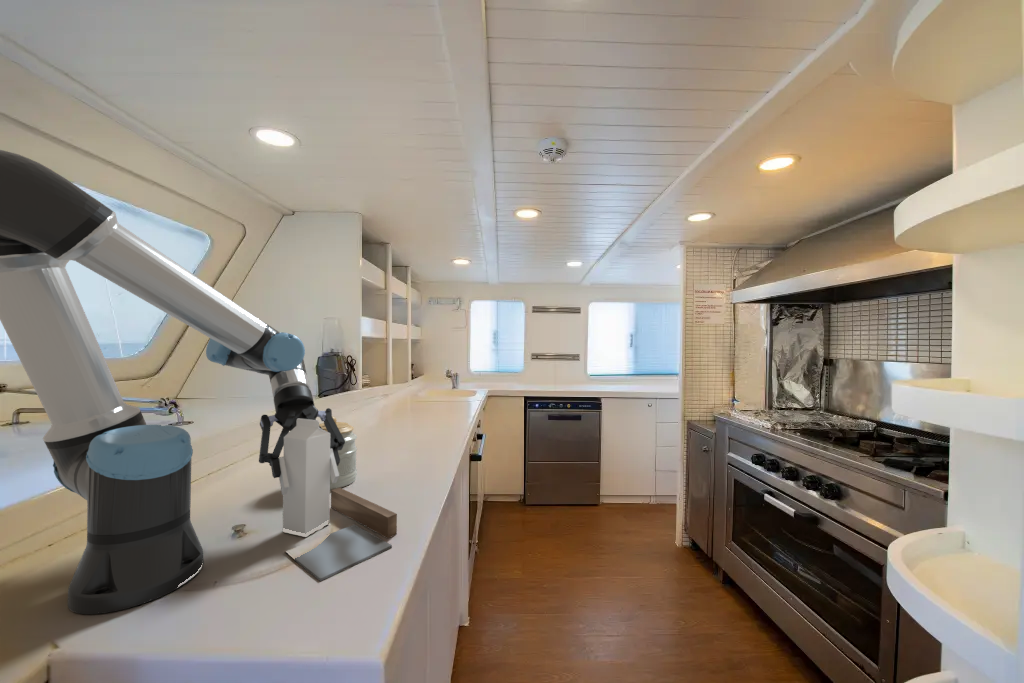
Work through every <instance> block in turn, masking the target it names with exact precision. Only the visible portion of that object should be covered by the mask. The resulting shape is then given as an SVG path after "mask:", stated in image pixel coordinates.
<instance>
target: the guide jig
mask: <svg viewBox="0 0 1024 683" xmlns="http://www.w3.org/2000/svg"><path fill="white" fill-rule="evenodd" d="M330 509H333V510H334V511H336V512H338V513H340V514H342V515H344V516H346V517H347V518H349V519H351V520H353V521H355V522H356V523H358V522H359V523H358V524H360V523H361V524H360V525H362V526H364V525H365V526H364V527H366V528H368V529H369V530H371V529H372V531H373V530H374V531H373V532H375V531H376V532H375V533H377V534H379V535H380V536H383V537H384V536H385V538H386V537H387V538H386V539H389V538H391V536H392V537H394V536H396V535H397V534H398V533H397V531H398V530H397V528H398V518H397V517H398V514H397V513H396V512H394V511H391V510H390V509H387V508H385V507H382V506H381V505H378V504H376V503H375V502H372V501H369V500H367V499H366V498H363V497H361V496H359V495H357V494H356V493H352V492H351V491H348V490H346V489H344V488H343V487H340V488H336V489H330ZM329 534H330V535H329V536H328V537H327V538H326V539H325V540H324V541H323V542H322V543H321V544H319V545H318V546H317V547H316V548H314V549H312V550H311V551H309V552H307V553H305V554H303V555H301V556H300V557H297V558H295V560H294V561H295V562H296V563H297V564H298V565H300V566H301V567H302V568H303V569H305V571H307V572H308V573H310V574H311V575H312V576H314V577H315V578H316V579H317V580H318V581H320V582H323V581H325V580H326V579H329V578H331V577H332V576H335V575H337V574H339V573H341V572H344V571H345V570H347V569H350V568H352V567H354V566H356V565H358V564H360V563H362V562H364V561H366V560H368V558H369V559H370V557H371V558H373V557H374V556H377V555H379V554H381V553H383V552H385V551H387V549H388V550H389V548H390V549H392V548H393V545H392V544H391V543H388V542H386V541H385V540H383V539H381V538H379V537H378V536H376V535H374V534H372V533H370V532H368V531H366V530H365V529H364V528H361V527H359V526H357V525H356V524H352V525H349V526H346V527H344V528H341V529H339V530H336V531H333V532H332V533H331V532H330V533H329ZM372 556H373V557H372Z"/></svg>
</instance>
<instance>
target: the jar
mask: <svg viewBox="0 0 1024 683" xmlns="http://www.w3.org/2000/svg"><path fill="white" fill-rule="evenodd" d="M332 418H333V419H334V421H335V423H336V425H337V427H338V429H339V431H340V433H341V434H342V436H343V438H344V440H345V444H344V446H343V448H342V450H338V454H339V458H340V463H339V465H338V466H337V469H338V472H339V478H338V480H337V482H336V483H333V484H332V480H331V476H330V490H333V489H336V488H343V487H347V486H348V485H352V484H353V483H354V482H355V481H356V477H357V473H358V472H357V470H358V469H357V450H358V448H357V446H356V440H357V438H358V435H357V434H356V433H354V432H353V431H354V429H355V427H354V426H352V425H350V424H349V423H348V422H343V421H337V420H338V419H337V418H336V417H335V416H333V415H332ZM319 425H320V427H321V428H322V429H323V430H325V431H327V429H326V427H325V425H324V422H322V423H319ZM327 432H328V431H327Z"/></svg>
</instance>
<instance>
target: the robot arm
mask: <svg viewBox="0 0 1024 683" xmlns="http://www.w3.org/2000/svg"><path fill="white" fill-rule="evenodd" d="M70 261H74V262H76V263H78V264H79V265H82V266H83V267H85V268H87V269H89V270H90V271H92V272H94V273H95V274H97V275H99V276H101V277H102V278H105V279H106V280H107V281H109V282H112V283H113V284H114V285H117V286H118V287H119V288H122V289H124V290H126V291H127V292H129V293H130V294H133V295H134V296H136V297H138V298H140V299H142V300H143V301H145V302H146V303H147V304H150V305H152V306H153V307H155V308H156V309H158V310H160V311H162V312H163V313H166V314H167V315H169V316H171V317H172V318H174V319H176V320H178V321H180V322H181V323H183V324H184V325H187V326H188V327H191V329H194V330H195V331H197V332H199V333H201V334H203V335H204V336H206V337H208V338H209V340H208V343H207V345H206V347H205V348H206V350H205V353H206V354H205V355H206V358H207V360H208V361H210V362H212V363H215V364H219V365H221V366H223V367H225V366H226V367H231V368H236V369H240V370H245V371H250V372H254V373H257V374H260V375H261V374H262V375H267V376H268V377H269V382H270V385H271V387H270V388H271V391H272V392H271V393H272V397H273V404H274V409H275V413H274V414H272V415H268V414H262V415H261V417H260V421H259V426H260V429H261V437H260V438H261V440H260V446H259V455H258V462H259V464H265V463H268V465H269V466H270V468H271V473H272V477H273V479H277V478H278V480H279V484H280V491H281V495H282V496H283V495H284V494H287V491H288V488H289V484H288V478H287V472H286V467H285V461H284V455H283V456H281V453H282V450H283V449H284V437H285V436H286V435H287V434H288V433H289V432H290V431H291V430H292V429H293V428H294V427H296V423H297V419H298V418H300V419H310V420H317V418H320V420H321V422H323V423H324V425H325V427H326V429H327V431H328V432H329V433H330V476H331V480H332V484H333V483H336V482H337V480H338V478H339V472H338V469H337V466H338V465H339V463H340V458H339V454H338V450H342V448H343V446H344V444H345V440H344V438H343V436H342V434H341V433H340V431H339V429H338V427H337V425H336V423H335V421H334V419H333V418H332V416H333V414H332V411H333V410H332V409H331V408H329V407H328V408H326V409H325V410H318V408H316V406H315V403H314V402H315V401H314V397H313V394H312V390H311V385H310V381H309V378H308V373H307V369H306V366H305V364H306V363H305V360H304V358H305V354H306V351H305V350H306V349H305V345H304V343H303V341H302V340H301V339H300V337H298V336H296V335H295V334H292V333H288V332H280V331H278V330H277V329H275V328H274V327H272V326H271V325H269V324H268V323H266V322H264V321H263V320H261V319H260V318H258V317H257V316H255V315H254V314H252V313H251V312H249V311H248V310H247V309H245V308H243V307H242V306H241V305H239V304H238V303H237V302H235V301H233V300H232V299H231V298H229V297H228V296H226V295H225V294H223V293H221V292H220V291H219V290H217V289H216V288H214V287H212V286H211V285H209V283H207V282H205V281H204V280H202V279H201V278H200V277H198V276H197V275H195V274H194V273H192V272H190V271H189V270H188V269H186V268H184V267H183V266H182V265H180V264H179V263H177V262H176V261H174V259H173V260H172V259H171V258H170V257H169V256H167V255H166V254H164V253H163V252H161V251H160V250H158V249H156V248H155V247H154V246H152V245H151V244H149V243H148V242H147V241H144V239H142V238H141V237H139V236H137V235H136V234H134V233H133V232H132V231H130V230H129V229H127V228H126V227H124V226H123V225H121V223H120V222H118V218H117V213H116V212H115V211H114V210H112V209H111V208H109V207H108V206H106V205H105V204H103V203H102V202H101V201H99V200H98V199H96V198H95V197H93V196H92V195H90V194H89V193H88V192H86V191H84V190H83V189H82V188H80V187H78V186H77V185H76V184H74V183H73V182H71V181H70V180H68V179H67V178H65V177H64V176H62V175H60V174H59V173H57V172H55V171H54V170H52V169H51V168H49V167H48V166H46V165H44V164H42V163H40V162H38V161H35V160H34V159H30V158H29V157H26V156H24V155H21V154H18V153H15V152H10V151H8V150H7V151H6V150H2V149H0V322H1V324H2V327H3V328H4V330H5V333H6V334H7V337H8V338H9V340H10V343H11V345H12V347H13V348H14V351H15V353H16V355H17V357H18V359H19V361H20V363H21V364H22V367H23V369H24V371H25V372H26V374H27V377H28V380H29V381H30V384H31V385H32V387H33V389H34V391H35V393H36V395H37V398H38V400H39V401H40V403H41V405H42V407H43V410H44V411H45V413H46V415H47V417H48V419H49V422H50V423H51V427H50V428H49V429H48V430H47V432H46V433H45V435H44V436H43V438H42V440H43V441H44V444H45V446H46V448H47V450H48V452H49V454H50V456H51V459H52V460H53V464H52V467H53V473H54V475H55V478H56V480H57V482H58V483H60V485H61V486H63V487H64V488H65V489H67V490H68V491H70V492H72V493H75V494H76V495H79V496H80V497H82V498H83V499H84V500H86V503H87V506H86V507H87V509H86V510H87V511H86V512H87V514H86V517H87V518H86V519H87V520H86V526H87V527H86V530H87V531H86V533H87V534H86V546H85V549H84V551H83V553H82V555H81V558H80V559H79V563H78V565H77V567H76V569H75V571H74V574H73V576H72V579H71V581H70V584H69V585H68V590H67V608H68V609H69V610H70V611H71V612H73V613H76V614H80V615H81V614H82V615H95V614H96V615H98V614H107V613H111V612H112V613H113V612H117V611H122V610H127V609H129V608H133V607H137V606H140V605H143V604H145V603H149V602H152V601H153V600H156V599H158V598H159V599H160V598H161V597H163V596H165V595H168V594H170V593H172V592H173V591H176V590H177V589H178V588H177V587H178V585H179V584H180V583H182V582H184V581H185V580H186V579H188V578H189V577H190V576H192V575H193V574H195V573H196V572H197V571H198V569H199V568H200V567H201V565H202V563H203V564H204V549H203V547H202V544H201V542H200V540H199V537H198V535H197V533H196V531H195V528H194V526H193V524H192V522H191V502H192V500H191V498H192V494H191V493H192V490H191V489H192V457H193V453H194V449H193V446H192V441H191V440H192V438H191V435H190V433H189V432H188V431H187V430H185V429H184V428H182V427H179V426H175V425H170V424H169V425H167V424H166V425H161V424H147V423H146V421H145V418H144V416H143V413H142V410H141V409H140V407H137V406H133V405H131V404H127V403H126V402H124V399H123V397H122V394H121V393H120V391H119V388H118V384H116V382H115V379H114V376H113V374H112V372H111V370H110V368H109V365H108V362H107V360H106V358H105V356H104V353H103V351H102V349H101V346H100V345H99V342H98V340H97V337H96V335H95V333H94V330H93V329H92V326H91V324H90V322H89V319H88V317H87V315H86V311H85V310H84V307H83V306H82V304H81V301H80V298H79V295H78V294H77V292H76V289H75V287H74V285H73V282H72V280H71V279H70V276H69V273H68V271H67V268H66V267H67V264H68V263H69V262H70ZM274 422H275V423H277V424H278V425H279V426H281V427H282V429H281V432H280V434H279V436H278V439H277V441H276V443H275V446H274V449H273V451H272V452H269V445H270V436H271V435H270V434H271V428H272V426H273V425H274ZM319 428H320V429H322V428H321V427H320V425H319ZM322 430H323V429H322ZM176 588H177V589H176Z"/></svg>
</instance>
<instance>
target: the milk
mask: <svg viewBox="0 0 1024 683" xmlns="http://www.w3.org/2000/svg"><path fill="white" fill-rule="evenodd" d="M319 424H320V421H319V420H318V419H316V420H310V419H300V418H298V419H297V423H296V427H294V428H293V429H292V430H291V431H289V433H288V434H287V435H286V436H285V437H284V446H283V456H284V461H285V467H286V472H287V478H288V484H289V488H288V491H287V494H284V495H282V529H283V528H285V529H289V530H292V531H296V532H301V533H305V534H306V533H307V532H309V531H311V530H312V529H314V528H316V527H318V526H319V525H321V524H322V523H324V522H325V521H327V520H329V521H330V509H331V489H330V433H329V432H327V431H325V430H322V429H320V428H319Z"/></svg>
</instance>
